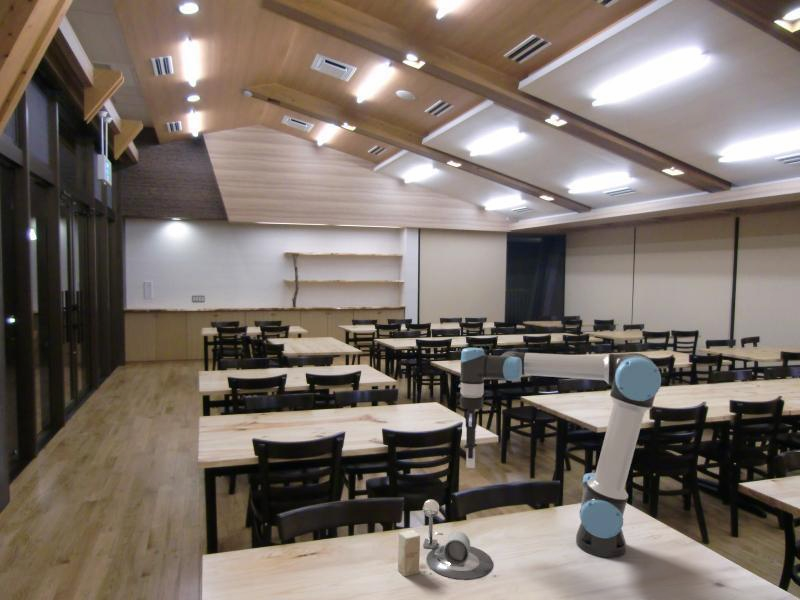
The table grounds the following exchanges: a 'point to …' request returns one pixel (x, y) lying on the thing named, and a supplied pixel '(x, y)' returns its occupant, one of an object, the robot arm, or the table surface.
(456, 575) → the platter
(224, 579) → the table surface
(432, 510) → the dial stand
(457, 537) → the ceramic mug
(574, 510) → the table surface
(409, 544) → the box
